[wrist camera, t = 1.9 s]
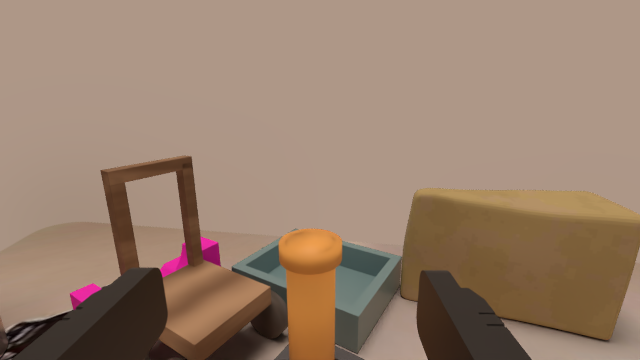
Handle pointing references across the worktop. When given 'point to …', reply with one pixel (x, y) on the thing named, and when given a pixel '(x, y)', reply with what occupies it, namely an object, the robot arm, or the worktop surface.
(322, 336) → the pin
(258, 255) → the tray
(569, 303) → the cheese
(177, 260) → the toy block
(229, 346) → the worktop surface
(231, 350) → the worktop surface
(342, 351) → the pin socket
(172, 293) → the trolley
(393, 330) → the worktop surface
